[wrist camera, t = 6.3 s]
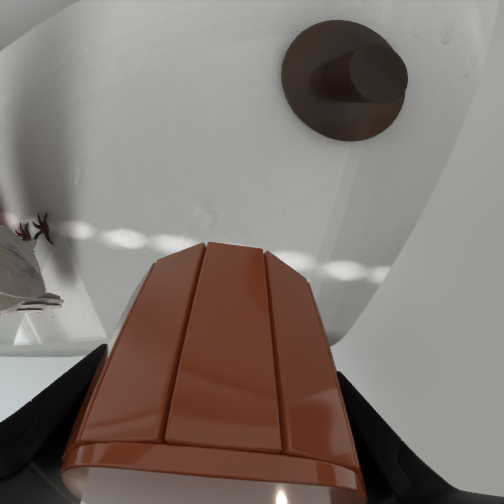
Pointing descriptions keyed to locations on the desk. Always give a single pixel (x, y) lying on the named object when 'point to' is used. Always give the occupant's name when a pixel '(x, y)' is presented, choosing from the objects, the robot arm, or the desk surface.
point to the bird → (23, 273)
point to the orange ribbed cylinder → (216, 392)
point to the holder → (344, 80)
